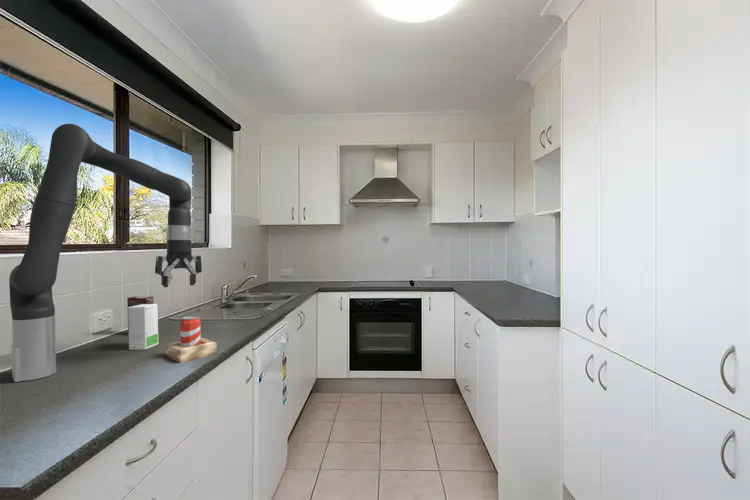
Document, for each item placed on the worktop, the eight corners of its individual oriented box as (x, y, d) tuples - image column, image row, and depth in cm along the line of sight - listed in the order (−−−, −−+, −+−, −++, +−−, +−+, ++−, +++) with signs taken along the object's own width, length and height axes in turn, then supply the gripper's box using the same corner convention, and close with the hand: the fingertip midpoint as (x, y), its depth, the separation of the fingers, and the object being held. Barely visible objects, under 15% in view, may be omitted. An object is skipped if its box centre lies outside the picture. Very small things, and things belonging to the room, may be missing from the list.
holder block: (180, 362, 119) (180, 350, 119) (165, 355, 126) (165, 344, 126) (216, 354, 128) (216, 342, 128) (201, 347, 136) (200, 337, 136)
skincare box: (145, 350, 133) (144, 307, 133) (127, 350, 133) (126, 307, 133) (159, 343, 141) (158, 303, 141) (142, 343, 142) (141, 303, 141)
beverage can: (176, 354, 125) (175, 318, 124) (190, 348, 131) (189, 315, 131) (191, 355, 123) (191, 319, 123) (205, 350, 129) (204, 315, 129)
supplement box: (154, 333, 158) (154, 296, 158) (146, 336, 153) (145, 297, 153) (135, 332, 159) (135, 296, 159) (127, 335, 154) (126, 297, 154)
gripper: (160, 238, 119) (160, 288, 119) (205, 239, 129) (204, 285, 129) (152, 238, 124) (152, 286, 124) (196, 239, 134) (195, 284, 134)
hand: (179, 286), depth 127 cm, fingers open, 8 cm apart
